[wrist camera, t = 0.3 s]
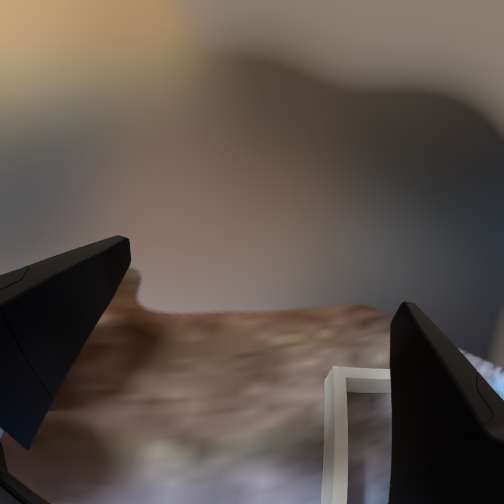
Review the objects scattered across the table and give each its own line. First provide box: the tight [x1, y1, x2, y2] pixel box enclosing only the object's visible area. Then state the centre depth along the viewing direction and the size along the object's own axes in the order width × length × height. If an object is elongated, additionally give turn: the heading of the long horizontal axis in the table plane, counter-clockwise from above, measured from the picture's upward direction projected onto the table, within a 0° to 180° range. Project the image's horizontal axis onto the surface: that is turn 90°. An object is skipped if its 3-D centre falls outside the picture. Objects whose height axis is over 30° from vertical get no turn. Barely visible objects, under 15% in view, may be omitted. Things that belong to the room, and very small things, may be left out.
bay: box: [321, 366, 391, 504], centre depth 17 cm, size 12×11×2 cm
